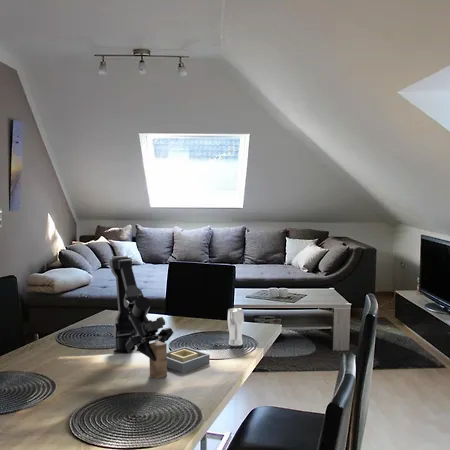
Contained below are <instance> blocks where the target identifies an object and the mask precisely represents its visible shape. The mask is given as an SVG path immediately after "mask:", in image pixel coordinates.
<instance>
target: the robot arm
mask: <svg viewBox="0 0 450 450" xmlns="http://www.w3.org/2000/svg"><path fill="white" fill-rule="evenodd" d="M108 264H109V268H110V270H111V274H112V275H113V276H114V277H115V283H116V284H115V285H116V295H117V298H116V299H117V308H118V309H117V310H118V313H117V315H116V317H115V320H114V325H113V327H112V335H113V338H114V339H115V349H113V352H115V353H116V352H117V353H122V354H123V353H124V354H128V353H130V352H132V351H136V352H139V353H141V354H143V355H144V356H146V357H147V358H150V359H152V360H153V361H156V358H155V355H154V353H153V351H152V350H151V348H150V342H157V341H160V342H163V343H166V342H167V341H168V340H169V339H170V338H171V337H172V336H173V335H174V330H173V329H172V328H171V327H166V328H164V326H165V325H166V320H165V318H163V316H159V317H157V318H156V319H155V320H152V319H148V317H147V315H148V313H149V310H150V308H151V304H152V302H151V300H150V299H149V298H148V297H146V296H145V295H144V294H143V291H142V290H141V289H140V288H139V287H138V285H137V282H136V278H135V274H134V273H135V272H134V270H133V258H131V257H128V255H116V256H112V257H111V258H110V259H109V263H108ZM130 310H131V311H130ZM160 329H161V330H160ZM159 330H160V331H159ZM158 332H159V333H158Z"/></svg>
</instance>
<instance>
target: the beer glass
mask: <svg viewBox="0 0 450 450" xmlns="http://www.w3.org/2000/svg"><path fill="white" fill-rule="evenodd" d="M244 317H245V315H244V309H243V308H241V307H240V308H239V307H232V308H228V309H227V326H228V328H227V329H228V333H229V337H228V345H229V346H232V347H240V346H242V345H243V344H244V343H243V331H244V325H245V324H244V322H245V318H244Z"/></svg>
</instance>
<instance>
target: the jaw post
mask: <svg viewBox="0 0 450 450" xmlns="http://www.w3.org/2000/svg"><path fill="white" fill-rule="evenodd" d="M149 344H150V348H151V350H152V351H153V353H154V355H155V358H156V361H153V360H152V359H150V358H149V357H148V358H149V360H148V361H149V377H151V378H154V379H157V380H158V379H162V378H164V377H167V376H168V373H167V372H168V367H167V352H168V351H167V348H168V347H167V346H168V344H167V342H165V343H163V342H160V341H157V342H155V341H152V342H151V343H150V342H149Z"/></svg>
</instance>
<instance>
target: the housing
mask: <svg viewBox="0 0 450 450" xmlns="http://www.w3.org/2000/svg"><path fill="white" fill-rule="evenodd" d="M210 360H211V359H210V354H209V353H207V352H204V351H201V350H196V349H194V348H191V347H187V346H183V347H180V348H179V347H178V348H176V349H173V350H170V351H167V368H169V369H171V370H173V371H177V372H180V373H181V374H182V373H186V372H188V371H191V370H194V369H197V368H200V367H203V366H206V365H208V364H210V362H211V361H210Z"/></svg>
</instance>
